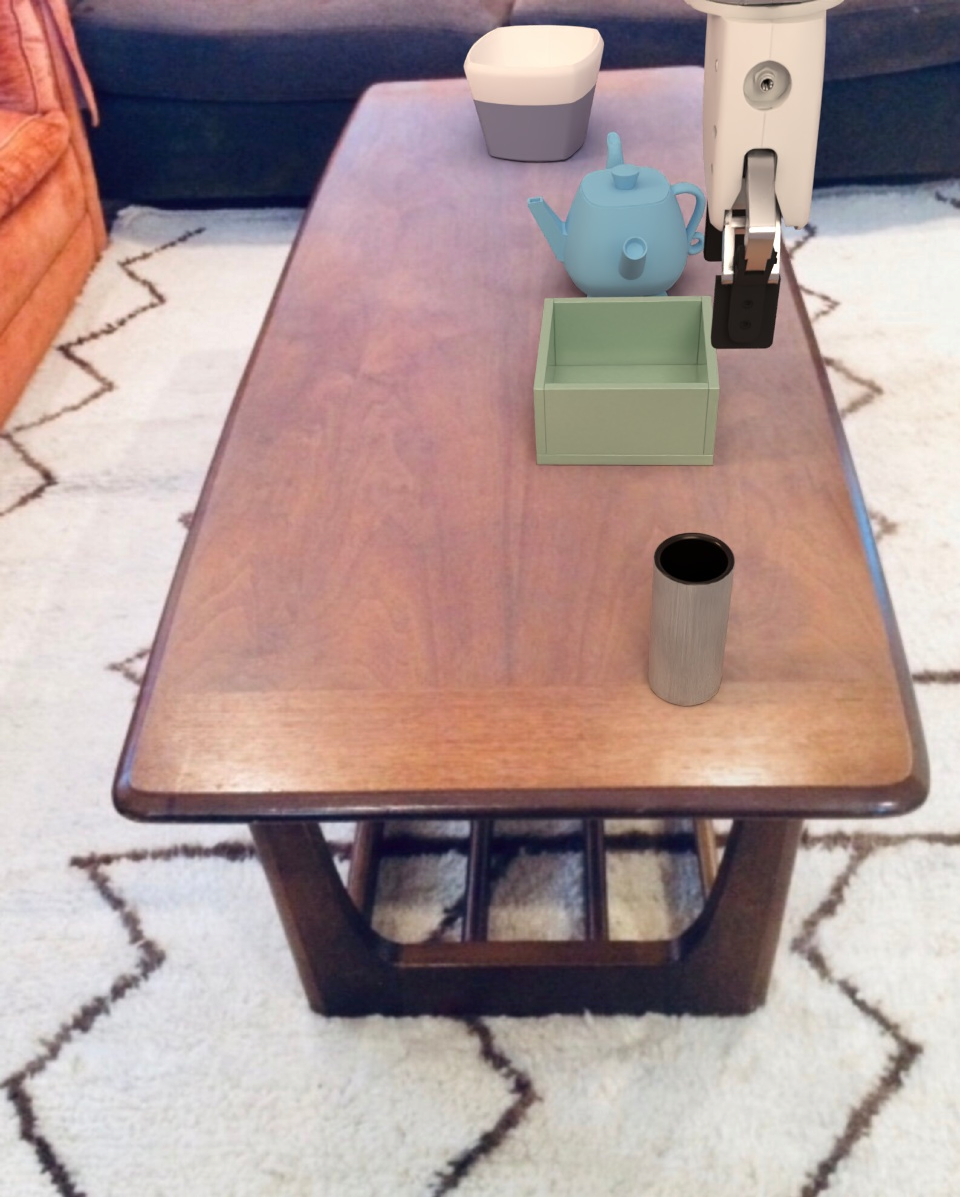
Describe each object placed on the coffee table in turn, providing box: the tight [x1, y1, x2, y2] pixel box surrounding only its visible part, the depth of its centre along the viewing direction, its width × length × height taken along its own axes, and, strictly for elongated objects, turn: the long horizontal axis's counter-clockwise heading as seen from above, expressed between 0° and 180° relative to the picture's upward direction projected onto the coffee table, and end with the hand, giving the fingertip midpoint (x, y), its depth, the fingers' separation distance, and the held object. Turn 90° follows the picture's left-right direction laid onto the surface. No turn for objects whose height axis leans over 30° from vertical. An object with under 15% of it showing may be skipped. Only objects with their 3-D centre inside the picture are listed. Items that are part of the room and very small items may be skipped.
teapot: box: [526, 131, 706, 298], centre depth 102 cm, size 15×14×11 cm
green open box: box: [532, 295, 721, 466], centre depth 88 cm, size 14×14×7 cm
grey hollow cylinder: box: [647, 532, 736, 707], centre depth 65 cm, size 4×4×10 cm
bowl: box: [463, 24, 605, 162], centre depth 128 cm, size 15×15×11 cm
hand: (735, 300), depth 62 cm, fingers open, 9 cm apart
